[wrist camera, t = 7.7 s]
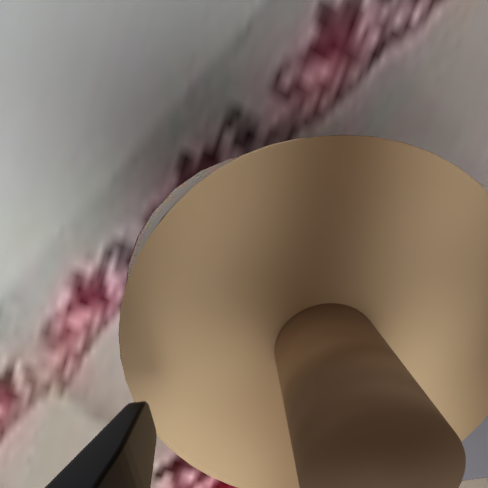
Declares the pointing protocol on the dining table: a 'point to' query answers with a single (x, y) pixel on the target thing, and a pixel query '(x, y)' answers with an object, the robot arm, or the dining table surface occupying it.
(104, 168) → the dining table surface
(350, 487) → the lid
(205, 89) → the dining table surface
